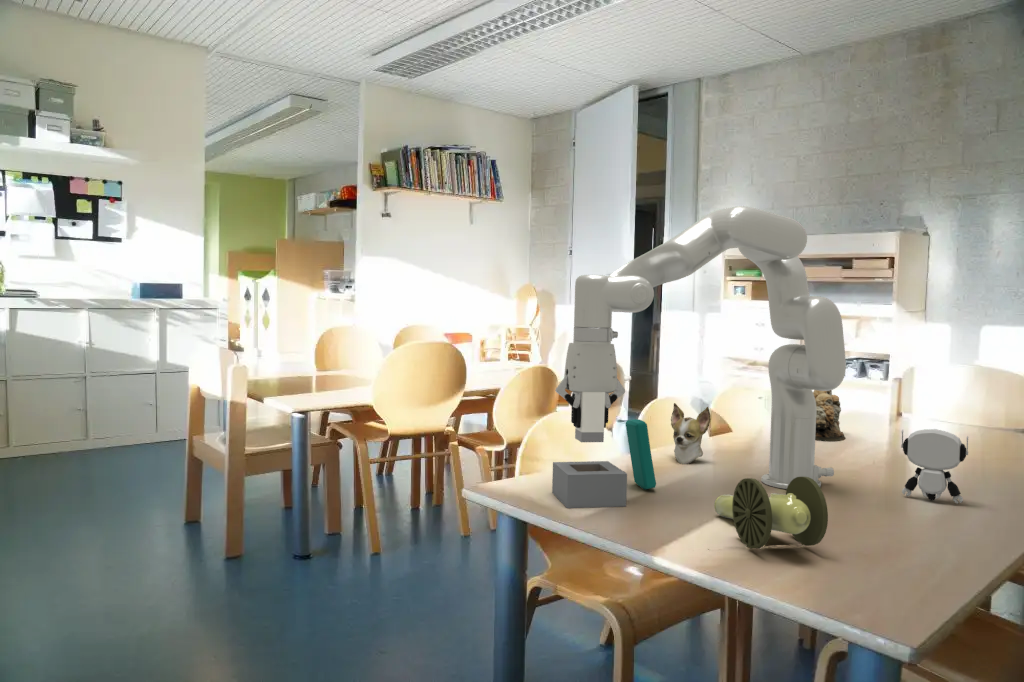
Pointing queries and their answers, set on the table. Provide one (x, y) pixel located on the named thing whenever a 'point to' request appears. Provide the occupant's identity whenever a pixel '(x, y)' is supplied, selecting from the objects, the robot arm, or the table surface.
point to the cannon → (776, 511)
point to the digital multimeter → (640, 453)
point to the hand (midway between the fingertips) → (589, 425)
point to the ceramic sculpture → (688, 434)
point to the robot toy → (933, 461)
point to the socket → (589, 484)
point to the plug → (591, 417)
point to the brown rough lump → (827, 417)
